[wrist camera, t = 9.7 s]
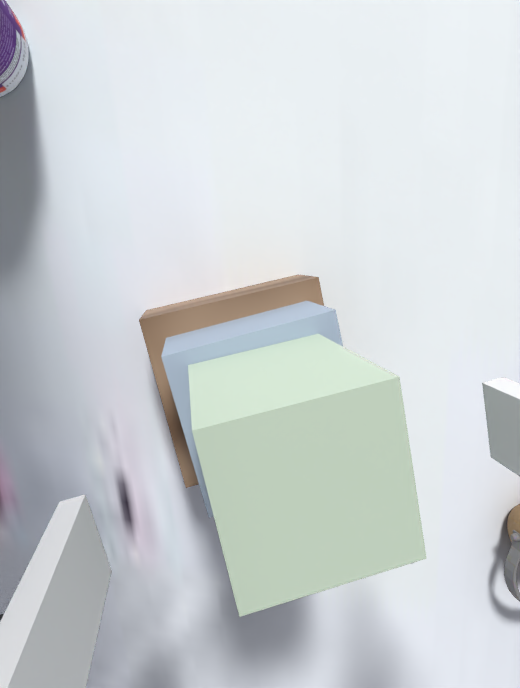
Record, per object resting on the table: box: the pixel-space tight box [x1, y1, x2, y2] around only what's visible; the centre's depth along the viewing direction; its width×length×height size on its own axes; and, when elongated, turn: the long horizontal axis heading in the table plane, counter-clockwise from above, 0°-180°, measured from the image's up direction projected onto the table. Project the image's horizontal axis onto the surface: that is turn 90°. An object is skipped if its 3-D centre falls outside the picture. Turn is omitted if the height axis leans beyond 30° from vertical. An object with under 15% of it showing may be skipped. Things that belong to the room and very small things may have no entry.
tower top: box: [161, 301, 343, 517], centre depth 24 cm, size 8×8×5 cm
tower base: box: [139, 275, 324, 488], centre depth 28 cm, size 10×10×5 cm
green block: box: [188, 334, 426, 617], centre depth 17 cm, size 6×6×8 cm
